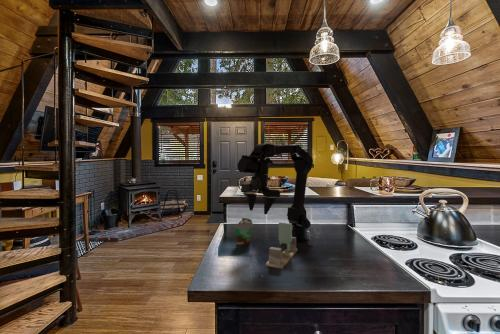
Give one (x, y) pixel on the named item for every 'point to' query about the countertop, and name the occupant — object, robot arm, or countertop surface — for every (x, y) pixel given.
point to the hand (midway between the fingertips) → (258, 212)
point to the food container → (243, 232)
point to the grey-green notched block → (285, 234)
